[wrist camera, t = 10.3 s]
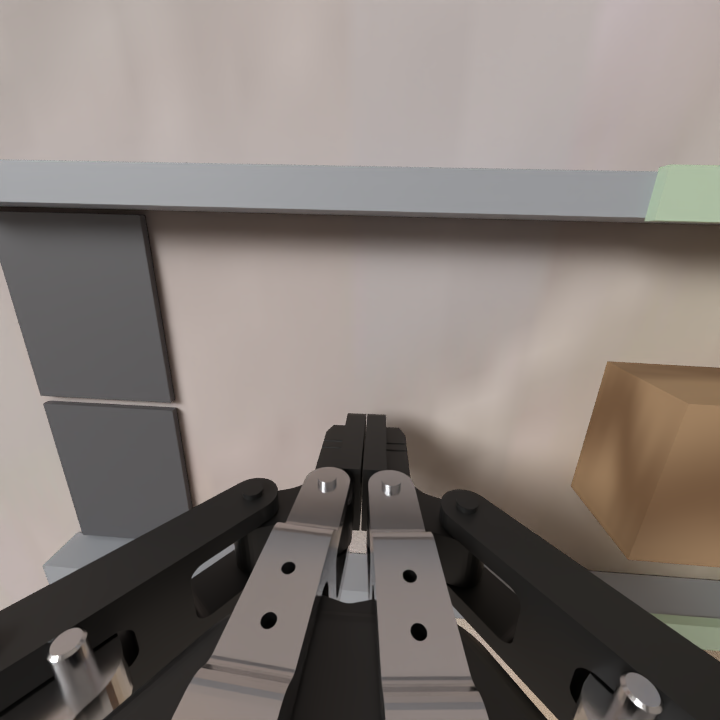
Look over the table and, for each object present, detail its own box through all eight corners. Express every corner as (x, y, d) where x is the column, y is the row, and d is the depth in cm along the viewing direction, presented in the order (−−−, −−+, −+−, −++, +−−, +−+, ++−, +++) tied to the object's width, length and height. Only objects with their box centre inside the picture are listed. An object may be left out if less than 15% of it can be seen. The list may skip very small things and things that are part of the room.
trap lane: (-36, 167, 13) (-126, 150, 10) (975, 187, 11) (1131, 172, 9) (83, 550, 19) (42, 593, 16) (746, 602, 17) (802, 658, 15)
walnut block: (604, 359, 14) (688, 403, 10) (761, 368, 13) (909, 417, 10) (568, 483, 16) (627, 559, 12) (705, 493, 15) (810, 574, 12)
